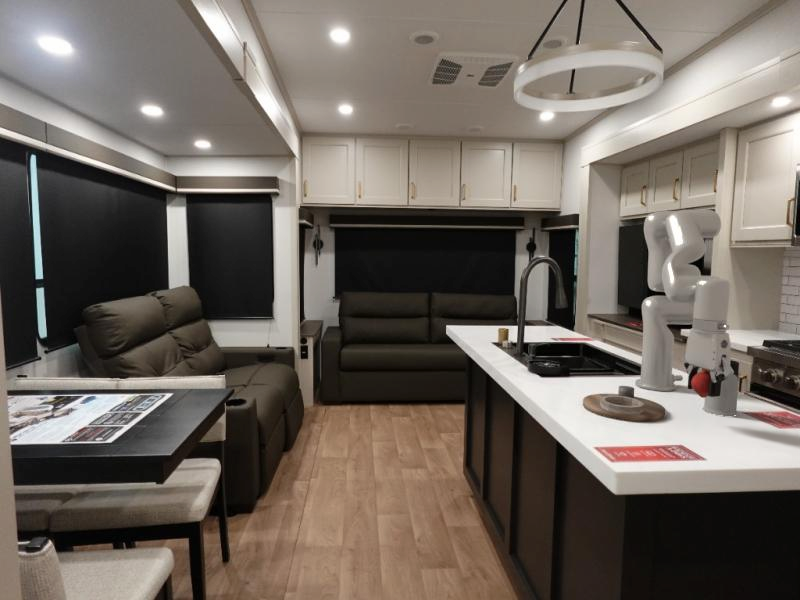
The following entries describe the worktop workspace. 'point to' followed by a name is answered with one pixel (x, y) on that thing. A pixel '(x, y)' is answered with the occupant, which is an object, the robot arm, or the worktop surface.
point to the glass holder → (725, 395)
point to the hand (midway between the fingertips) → (703, 391)
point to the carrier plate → (643, 417)
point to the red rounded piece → (701, 383)
